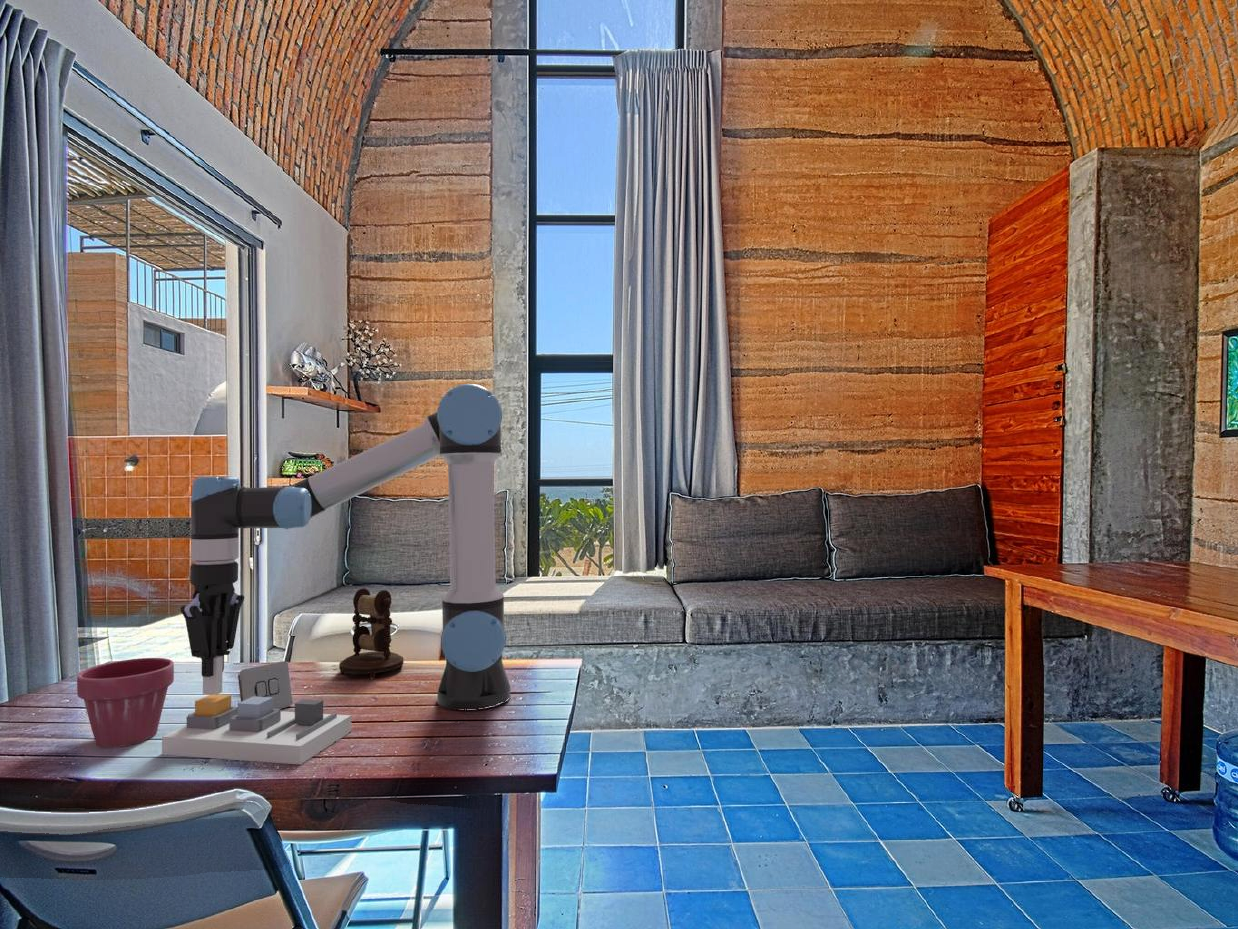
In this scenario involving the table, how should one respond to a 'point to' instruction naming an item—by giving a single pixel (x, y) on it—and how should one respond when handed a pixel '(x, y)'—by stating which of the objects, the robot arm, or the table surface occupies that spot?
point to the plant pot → (125, 699)
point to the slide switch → (308, 711)
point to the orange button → (213, 705)
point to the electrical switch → (267, 683)
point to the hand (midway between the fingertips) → (212, 693)
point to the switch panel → (255, 737)
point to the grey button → (255, 707)
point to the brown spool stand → (371, 636)
